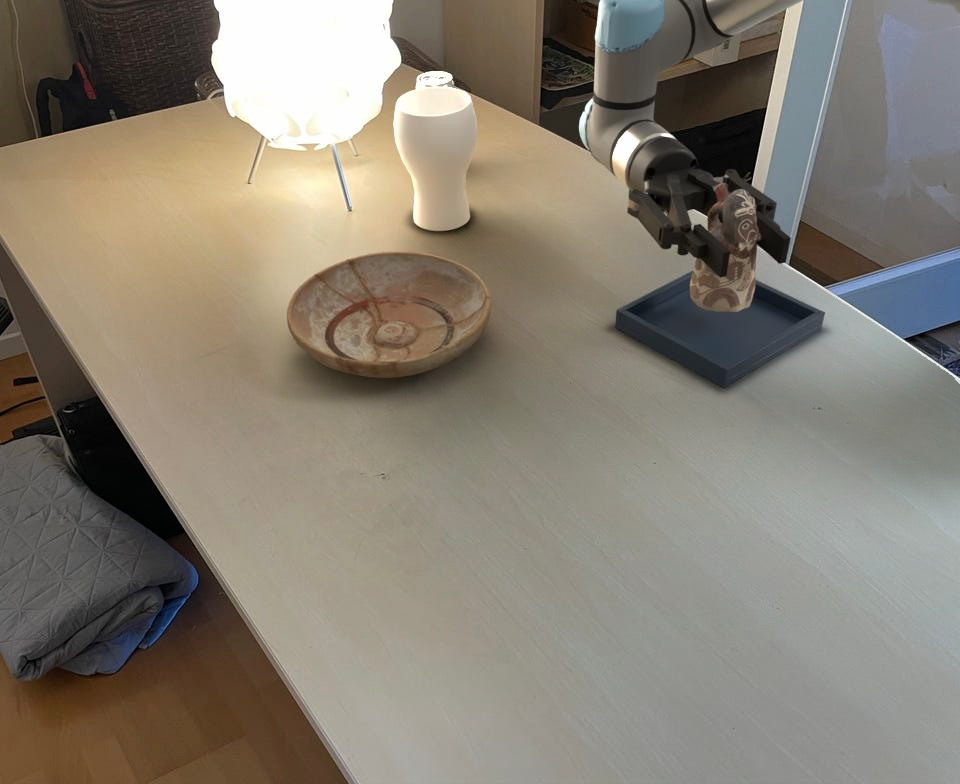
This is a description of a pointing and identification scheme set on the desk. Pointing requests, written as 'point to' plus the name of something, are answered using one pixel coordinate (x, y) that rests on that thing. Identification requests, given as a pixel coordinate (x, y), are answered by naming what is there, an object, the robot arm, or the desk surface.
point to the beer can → (434, 80)
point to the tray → (718, 329)
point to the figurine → (742, 244)
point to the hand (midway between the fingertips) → (755, 257)
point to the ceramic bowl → (389, 313)
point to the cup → (437, 152)
